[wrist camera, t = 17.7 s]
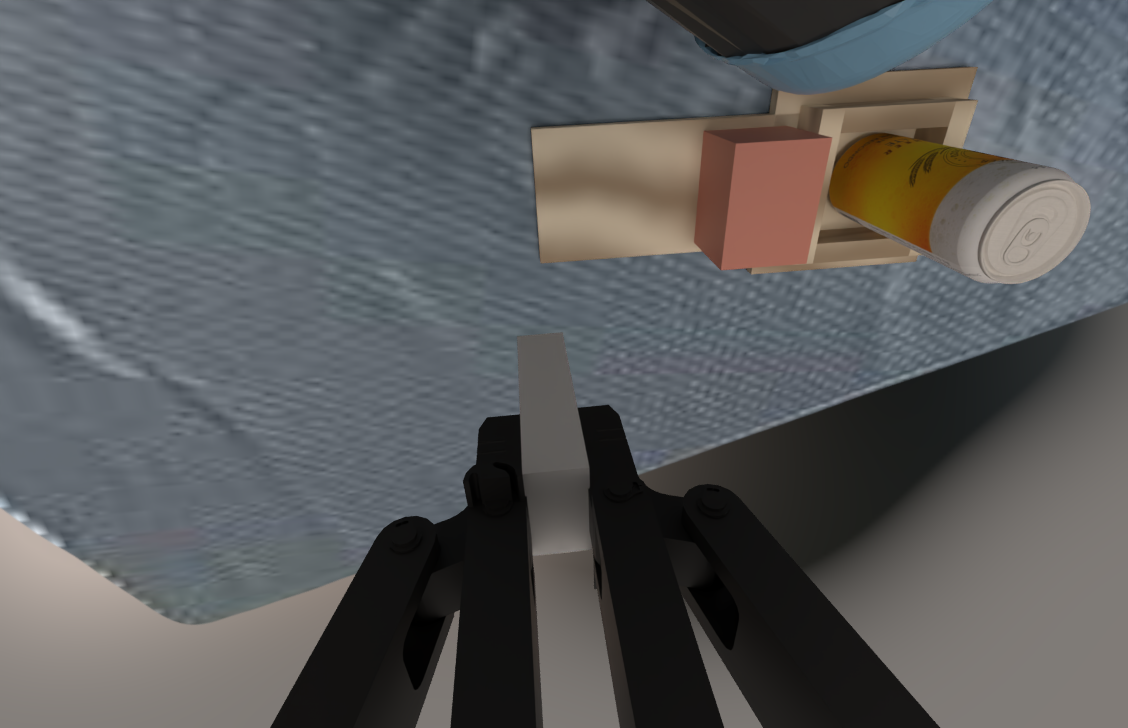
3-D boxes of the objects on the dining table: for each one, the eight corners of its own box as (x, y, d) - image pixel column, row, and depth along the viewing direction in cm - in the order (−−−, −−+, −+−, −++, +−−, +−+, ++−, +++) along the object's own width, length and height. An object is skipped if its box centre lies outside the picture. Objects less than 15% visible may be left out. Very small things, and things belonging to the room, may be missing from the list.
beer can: (920, 144, 38) (1126, 190, 25) (875, 224, 41) (1039, 302, 28) (850, 121, 37) (1030, 156, 24) (808, 205, 40) (949, 277, 27)
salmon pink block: (703, 130, 36) (735, 143, 31) (787, 125, 37) (832, 137, 32) (693, 242, 41) (720, 270, 35) (768, 237, 41) (806, 263, 36)
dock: (528, 91, 35) (530, 95, 32) (966, 66, 37) (1014, 68, 33) (541, 285, 42) (545, 306, 39) (907, 257, 44) (941, 274, 41)
